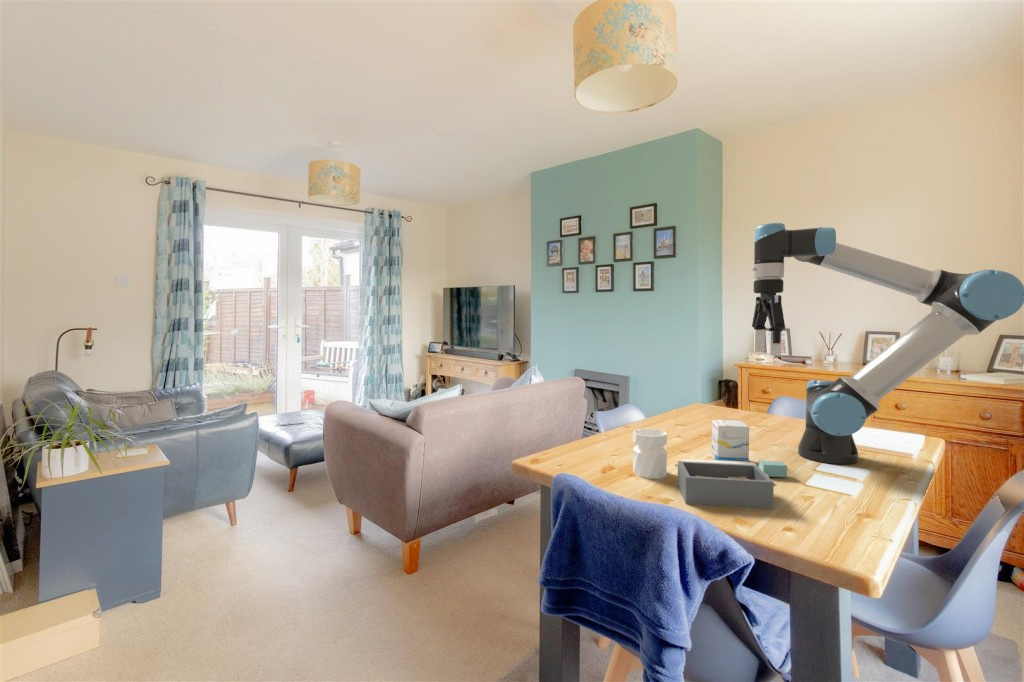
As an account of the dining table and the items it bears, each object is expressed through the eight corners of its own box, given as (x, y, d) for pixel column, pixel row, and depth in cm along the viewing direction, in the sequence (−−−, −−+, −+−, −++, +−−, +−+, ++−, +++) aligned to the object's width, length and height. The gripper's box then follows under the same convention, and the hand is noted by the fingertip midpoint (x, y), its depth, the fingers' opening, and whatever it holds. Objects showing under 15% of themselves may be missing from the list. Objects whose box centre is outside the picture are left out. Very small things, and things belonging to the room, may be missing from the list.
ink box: (749, 467, 135) (750, 426, 135) (717, 465, 137) (717, 425, 136) (741, 458, 144) (741, 420, 143) (710, 457, 145) (711, 418, 145)
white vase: (657, 470, 133) (657, 427, 133) (672, 481, 125) (673, 435, 124) (627, 472, 132) (627, 429, 131) (641, 483, 123) (641, 437, 122)
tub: (755, 493, 116) (756, 464, 115) (772, 514, 104) (773, 482, 104) (677, 488, 119) (677, 461, 119) (685, 508, 107) (686, 477, 107)
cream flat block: (775, 470, 131) (775, 456, 131) (793, 487, 119) (794, 471, 118) (682, 466, 135) (682, 452, 135) (690, 481, 123) (690, 466, 123)
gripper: (742, 282, 150) (740, 349, 151) (769, 276, 126) (767, 357, 127) (768, 281, 149) (766, 350, 150) (800, 275, 124) (798, 357, 126)
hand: (766, 353), depth 139 cm, fingers open, 13 cm apart
